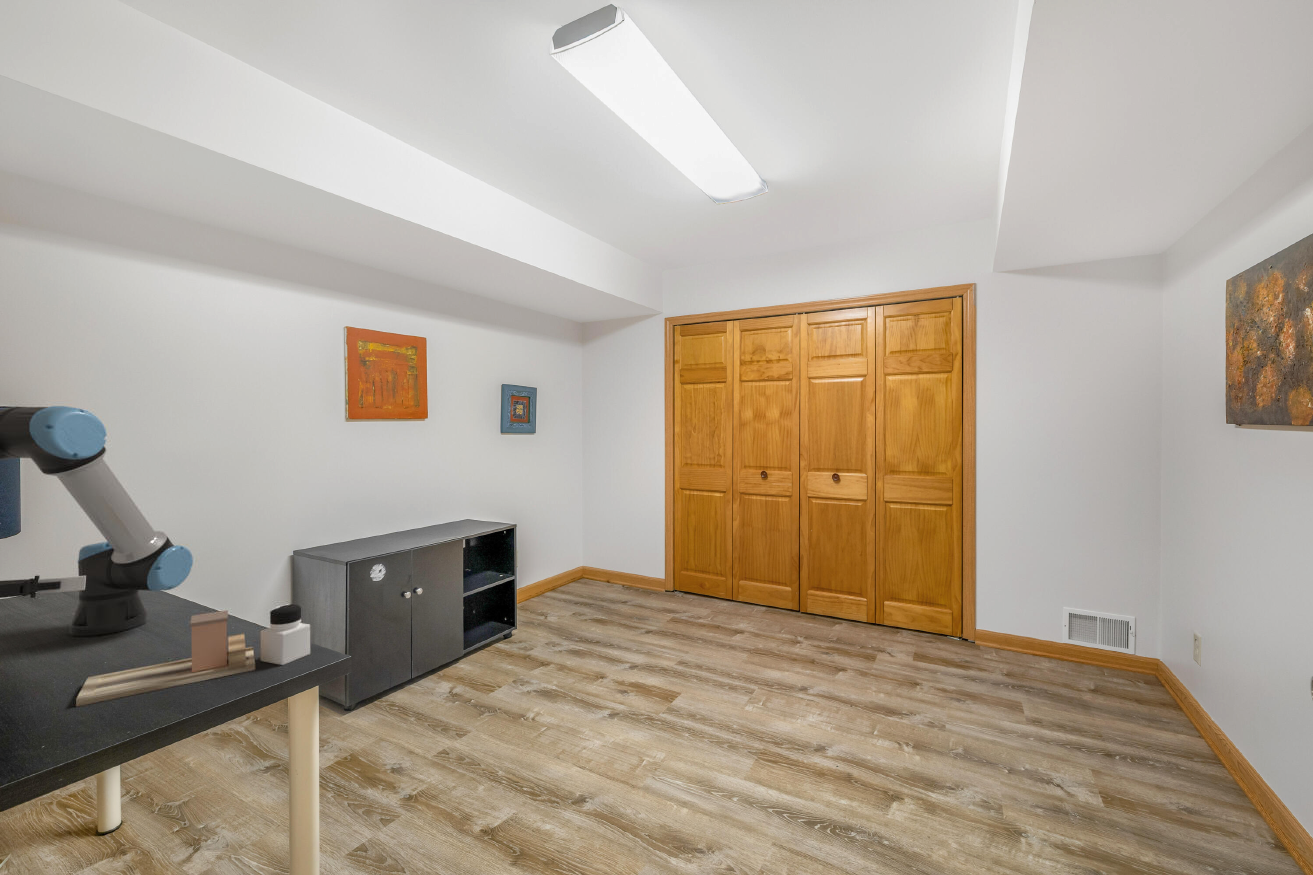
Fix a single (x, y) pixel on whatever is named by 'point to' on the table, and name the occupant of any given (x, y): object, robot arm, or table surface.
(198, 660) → the pink box with lid
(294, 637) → the medicine bottle
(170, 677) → the rail track
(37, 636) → the table surface
